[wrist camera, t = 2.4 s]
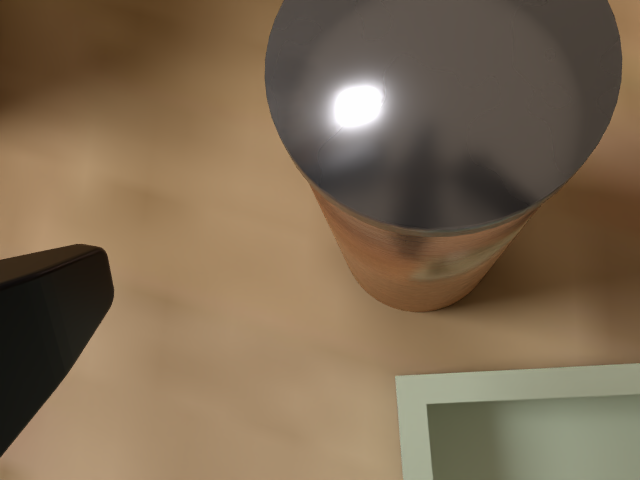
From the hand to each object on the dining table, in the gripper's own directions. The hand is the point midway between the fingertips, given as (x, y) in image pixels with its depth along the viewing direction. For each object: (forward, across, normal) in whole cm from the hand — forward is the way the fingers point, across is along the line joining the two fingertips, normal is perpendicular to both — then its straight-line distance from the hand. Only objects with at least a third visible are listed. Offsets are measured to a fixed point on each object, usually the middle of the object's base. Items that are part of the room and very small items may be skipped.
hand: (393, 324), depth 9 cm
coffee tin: (+11, 0, -6) cm, 13 cm away
